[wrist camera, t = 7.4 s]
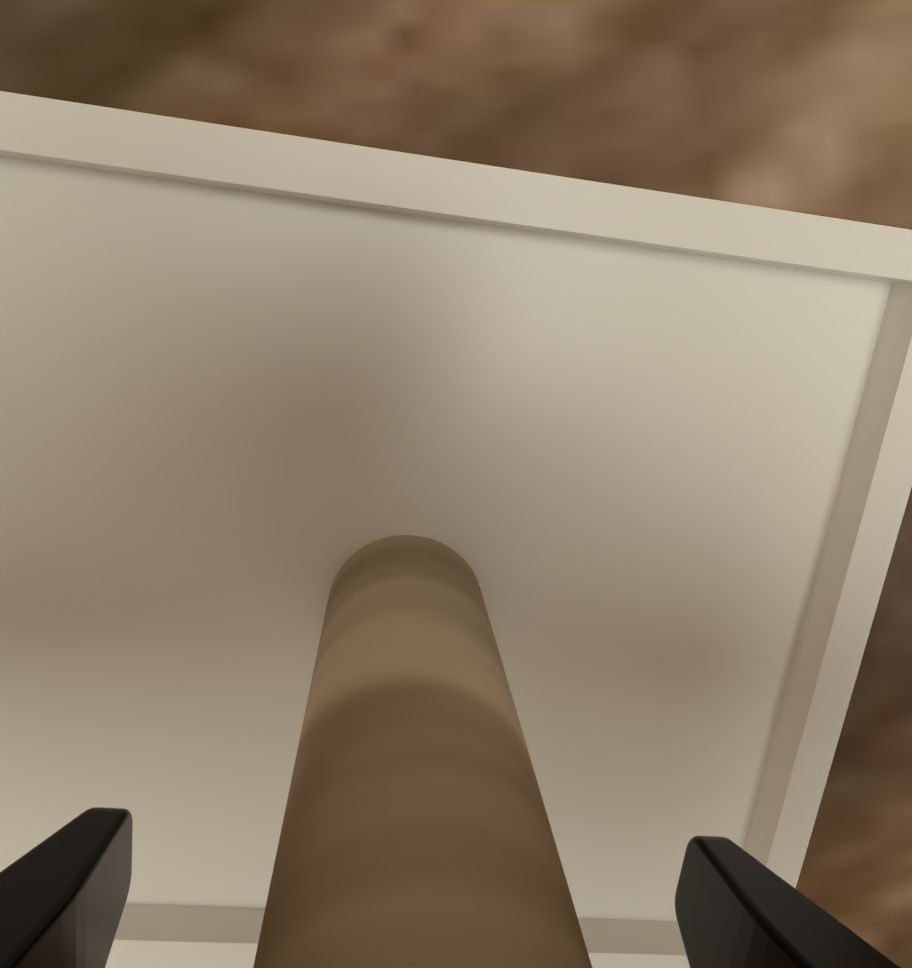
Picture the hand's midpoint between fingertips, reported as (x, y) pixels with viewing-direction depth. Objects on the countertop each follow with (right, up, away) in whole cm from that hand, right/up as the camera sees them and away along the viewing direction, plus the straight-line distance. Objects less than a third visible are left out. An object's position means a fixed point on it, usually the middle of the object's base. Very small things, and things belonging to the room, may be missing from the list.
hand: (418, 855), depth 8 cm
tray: (-1, +2, +7) cm, 7 cm away
